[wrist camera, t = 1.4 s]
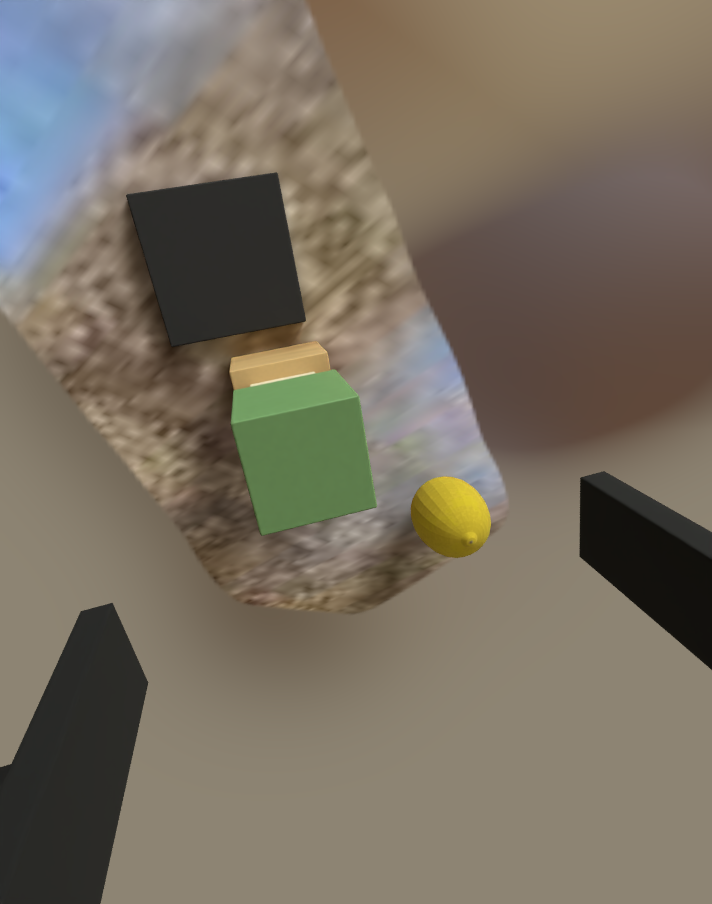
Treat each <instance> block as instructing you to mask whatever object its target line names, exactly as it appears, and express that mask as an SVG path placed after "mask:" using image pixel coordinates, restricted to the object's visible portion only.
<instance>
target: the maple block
mask: <svg viewBox="0 0 712 904" xmlns="http://www.w3.org/2000/svg"><path fill="white" fill-rule="evenodd" d="M325 371H330V364H329V359H328V353H327V352H326V351H325V350H324V349H323V348H322V347H321V346H320V345H319V344H318V343H317V342H316V341H314V342H309V343H304V344H299V345H294V346H289V347H284V348H279V349H274V350H268V351H263V352H258V353H253V354H248V355H243V356H238V357H233V358H231V365H230V372H229V373H230V377H231V381H232V385H233V388H234V390H237V389H242V388H247V387H250V385H251V384H256V383H260V382H265V381H270V380H275V379H280V378H285V377H290V376H295V375H299V374H304V373H309V372H315V373H320V372H325Z"/></svg>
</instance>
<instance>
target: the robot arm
mask: <svg viewBox="0 0 712 904" xmlns="http://www.w3.org/2000/svg"><path fill="white" fill-rule="evenodd" d="M580 479H581V480H580V482H581V483H580V557H581V558H582V559H583V560H584V561H586V562H587V563H588V564H589V565H590V566H591V567H592V568H594V569H595V570H596V571H597V572H598V573H600V574H601V575H602V576H603V577H604V578H605V579H607V580H608V581H609V582H610V583H611V584H613V586H615V587H616V588H617V589H618V590H619V591H621V592H622V593H623V594H624V595H625V596H626V597H628V598H629V599H630V600H631V601H632V602H633V603H634V604H636V605H637V606H638V607H639V608H640V609H641V610H643V611H644V612H645V613H646V614H647V615H648V616H650V617H651V618H652V619H653V620H654V621H655V622H657V623H658V624H659V625H660V626H661V627H663V628H664V629H665V630H666V631H667V632H668V633H670V634H671V635H672V636H673V637H674V638H675V639H677V640H678V641H679V642H680V643H681V644H682V645H684V646H685V647H686V648H687V649H688V650H689V651H690V652H692V653H693V654H694V655H695V656H697V658H699V659H700V660H701V661H702V662H703V663H704V664H706V665H707V666H708V667H709V668H710V669H711V670H712V532H710V531H708V530H707V529H705V528H703V527H702V526H700V525H698V524H696V523H695V522H693V521H691V520H689V519H687V518H686V517H684V516H682V515H680V514H679V513H677V512H675V511H673V510H671V509H670V508H668V507H666V506H665V505H662V504H661V503H659V502H657V501H656V500H654V499H652V498H650V497H648V496H647V495H645V494H643V493H641V492H640V491H638V490H636V489H634V488H633V487H631V486H629V485H627V484H626V483H624V482H622V481H620V480H619V479H617V478H615V477H613V476H611V475H610V474H608V473H606V472H600V473H596V474H592V475H589V476H585V477H581V478H580ZM147 686H148V681H147V679H146V677H145V675H144V672H143V670H142V668H141V665H140V663H139V661H138V659H137V657H136V654H135V652H134V650H133V648H132V645H131V643H130V641H129V639H128V636H127V634H126V632H125V630H124V627H123V625H122V623H121V621H120V619H119V616H118V614H117V612H116V610H115V607H114V605H113V603H110V604H107V605H103V606H99V607H95V608H92V609H88V610H84V611H81V612H80V615H79V617H78V619H77V621H76V623H75V625H74V628H73V630H72V632H71V634H70V636H69V639H68V641H67V643H66V645H65V648H64V650H63V652H62V654H61V656H60V658H59V661H58V663H57V665H56V667H55V669H54V672H53V674H52V676H51V679H50V681H49V683H48V685H47V687H46V689H45V691H44V694H43V696H42V698H41V700H40V702H39V705H38V707H37V709H36V711H35V714H34V716H33V718H32V720H31V722H30V724H29V727H28V729H27V731H26V733H25V735H24V738H23V740H22V742H21V744H20V747H19V749H18V751H17V753H16V755H15V757H14V760H13V762H12V764H10V765H7V766H4V767H0V904H100V903H101V898H102V893H103V889H104V885H105V879H106V875H107V871H108V866H109V861H110V857H111V851H112V848H113V843H114V838H115V833H116V829H117V825H118V820H119V815H120V811H121V806H122V801H123V797H124V792H125V788H126V783H127V778H128V773H129V769H130V764H131V760H132V755H133V750H134V746H135V741H136V736H137V732H138V727H139V723H140V718H141V713H142V709H143V704H144V700H145V695H146V690H147Z"/></svg>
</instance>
